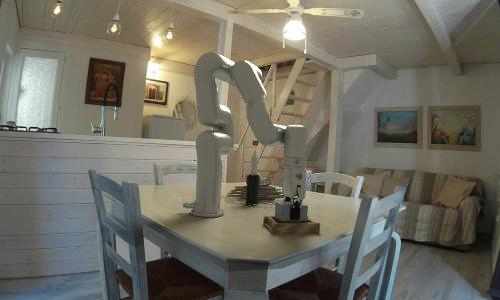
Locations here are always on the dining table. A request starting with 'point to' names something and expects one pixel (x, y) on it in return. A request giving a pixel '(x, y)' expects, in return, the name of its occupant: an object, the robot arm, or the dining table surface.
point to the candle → (253, 182)
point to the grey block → (284, 211)
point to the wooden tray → (290, 226)
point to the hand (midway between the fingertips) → (290, 216)
